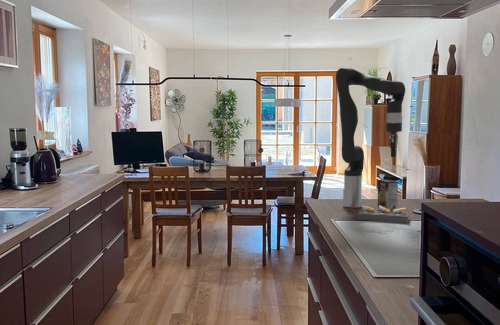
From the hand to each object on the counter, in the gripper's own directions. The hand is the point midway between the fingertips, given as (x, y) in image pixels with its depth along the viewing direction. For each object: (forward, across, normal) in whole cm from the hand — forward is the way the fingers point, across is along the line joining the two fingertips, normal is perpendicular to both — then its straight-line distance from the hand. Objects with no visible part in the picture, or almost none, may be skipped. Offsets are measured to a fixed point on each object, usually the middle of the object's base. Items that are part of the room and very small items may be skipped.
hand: (393, 156), depth 237 cm
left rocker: (+25, +12, -10) cm, 29 cm away
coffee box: (+29, -7, -3) cm, 30 cm away
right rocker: (+25, +12, +4) cm, 28 cm away
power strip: (+29, +14, -3) cm, 32 cm away
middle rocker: (+25, +12, -3) cm, 28 cm away
